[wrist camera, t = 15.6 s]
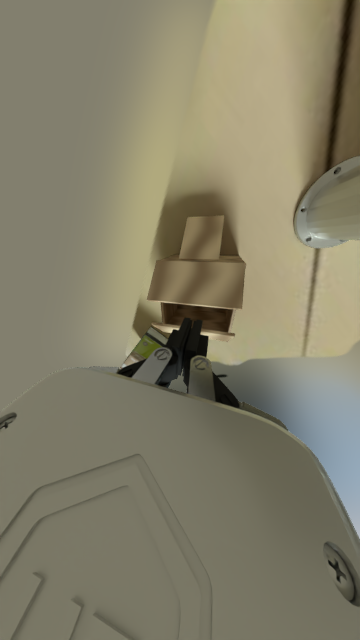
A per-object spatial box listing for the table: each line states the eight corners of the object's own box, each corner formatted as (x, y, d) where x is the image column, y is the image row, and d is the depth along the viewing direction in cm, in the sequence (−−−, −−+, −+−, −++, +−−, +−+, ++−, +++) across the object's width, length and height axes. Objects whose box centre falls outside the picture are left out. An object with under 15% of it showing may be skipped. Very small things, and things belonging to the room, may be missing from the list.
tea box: (140, 339, 56) (118, 368, 44) (151, 325, 51) (129, 353, 39) (169, 360, 58) (155, 392, 46) (182, 348, 53) (170, 382, 41)
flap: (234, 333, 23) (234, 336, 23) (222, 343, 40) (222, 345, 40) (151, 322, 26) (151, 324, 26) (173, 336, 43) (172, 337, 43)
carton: (238, 255, 32) (246, 264, 22) (227, 314, 41) (229, 339, 31) (174, 254, 36) (156, 261, 26) (176, 308, 44) (163, 329, 34)
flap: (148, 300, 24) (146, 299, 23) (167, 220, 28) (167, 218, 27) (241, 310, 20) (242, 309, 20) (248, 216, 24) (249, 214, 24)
